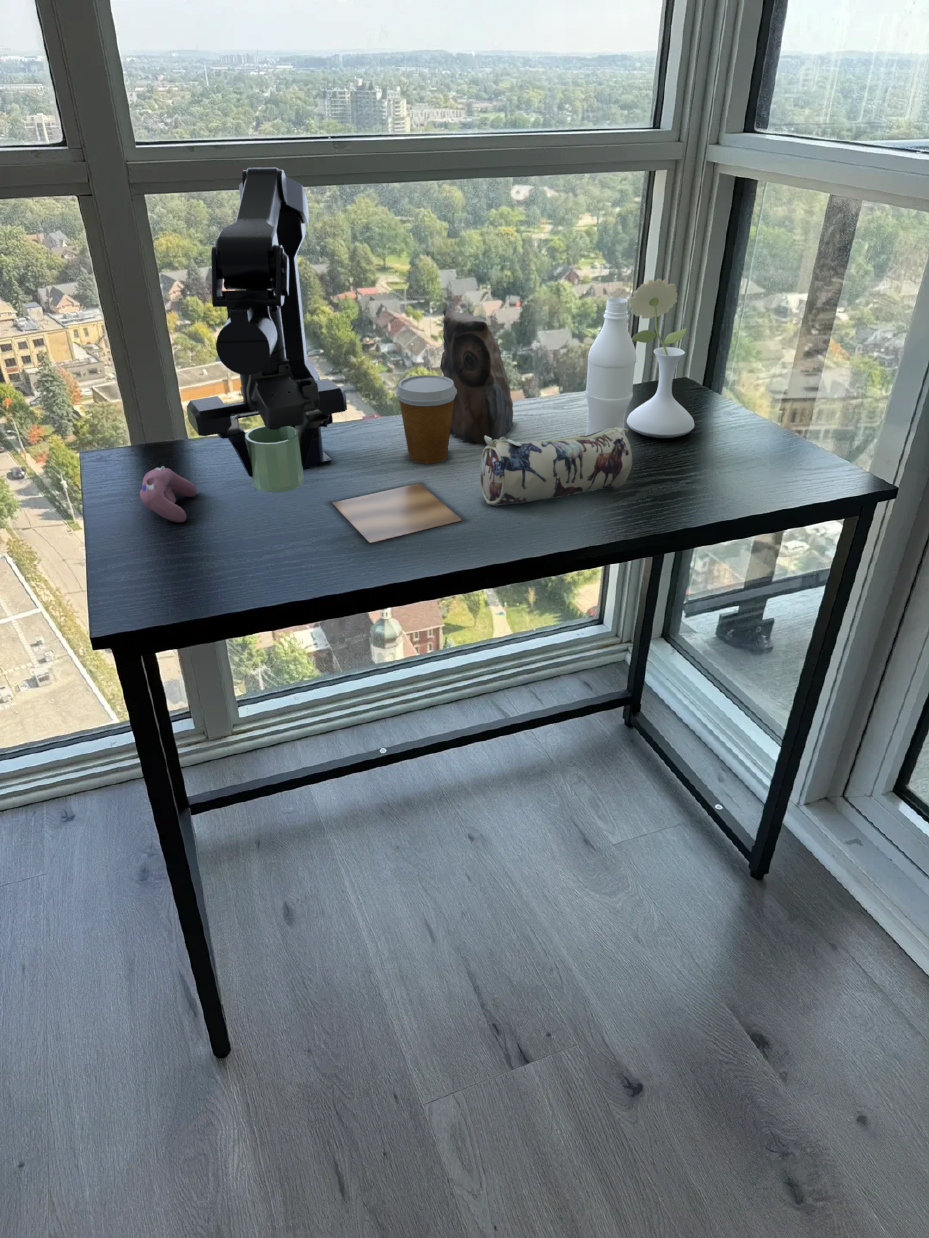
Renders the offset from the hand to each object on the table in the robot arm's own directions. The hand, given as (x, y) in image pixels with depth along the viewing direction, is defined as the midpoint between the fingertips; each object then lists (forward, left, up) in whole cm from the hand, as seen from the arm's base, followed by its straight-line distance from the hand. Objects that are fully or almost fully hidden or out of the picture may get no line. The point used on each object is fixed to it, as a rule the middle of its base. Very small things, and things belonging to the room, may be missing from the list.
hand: (276, 470), depth 111 cm
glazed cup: (0, 0, -2) cm, 2 cm away
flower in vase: (-7, +68, -10) cm, 69 cm away
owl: (-21, +42, -10) cm, 48 cm away
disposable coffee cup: (-16, +29, -10) cm, 35 cm away
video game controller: (-16, -12, -10) cm, 22 cm away
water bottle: (0, +52, -10) cm, 53 cm away
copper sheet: (0, +16, -10) cm, 19 cm away
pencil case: (+6, +39, -10) cm, 41 cm away
